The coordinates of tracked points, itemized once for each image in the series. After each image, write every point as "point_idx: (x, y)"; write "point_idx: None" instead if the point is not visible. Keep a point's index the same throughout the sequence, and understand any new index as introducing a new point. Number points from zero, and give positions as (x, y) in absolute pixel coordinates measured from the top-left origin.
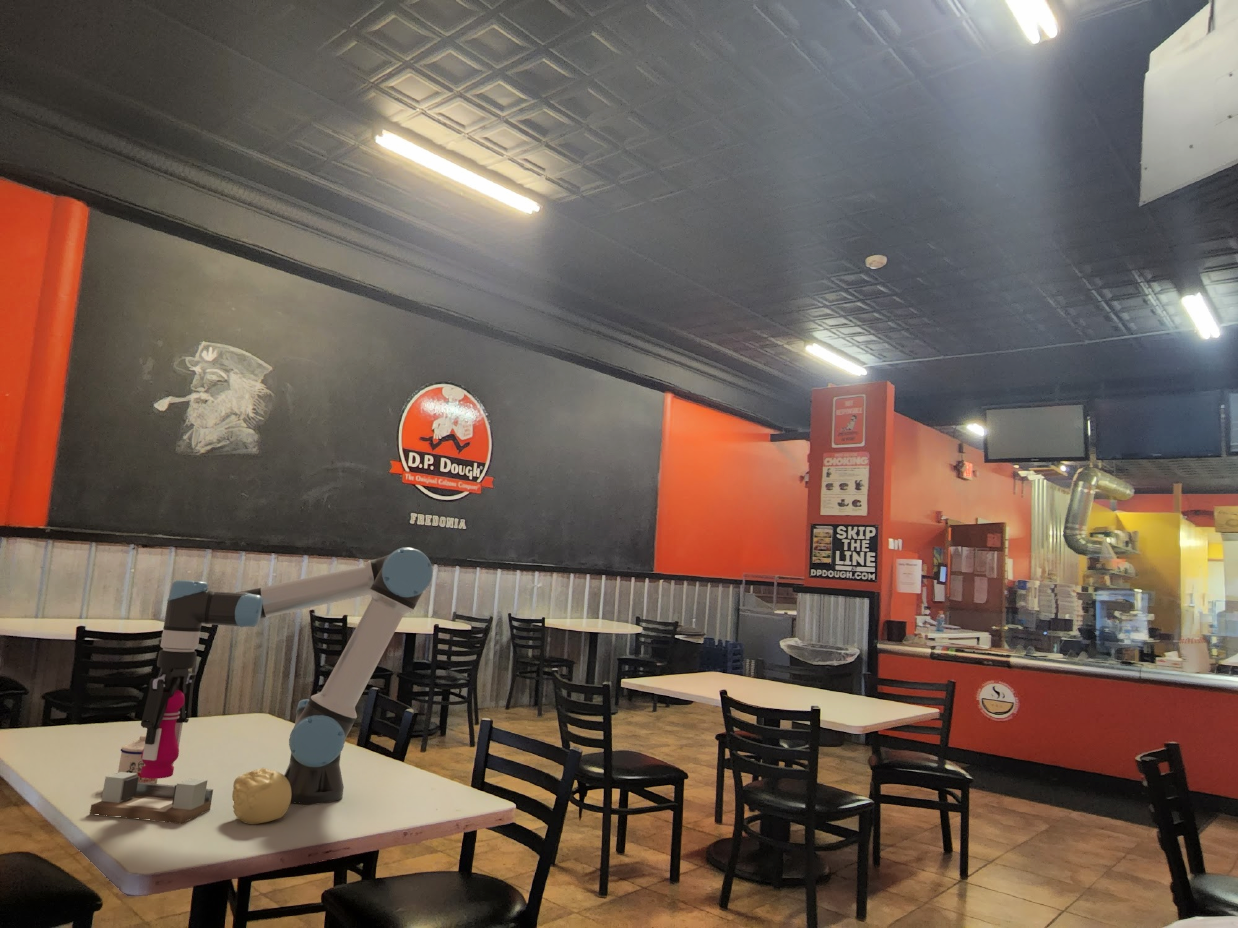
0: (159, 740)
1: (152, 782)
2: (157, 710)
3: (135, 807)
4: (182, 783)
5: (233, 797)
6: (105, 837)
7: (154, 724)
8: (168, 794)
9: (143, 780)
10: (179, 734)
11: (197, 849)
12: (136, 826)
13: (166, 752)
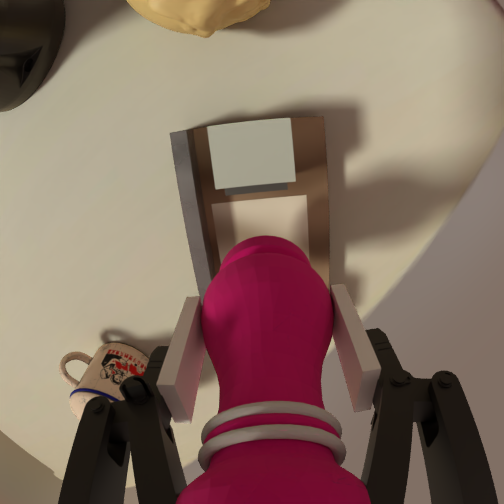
0: (348, 330)
1: (115, 347)
2: (459, 441)
3: (317, 248)
4: (286, 166)
5: (252, 10)
6: (442, 197)
7: (441, 378)
8: (208, 244)
9: (132, 359)
10: (181, 344)
11: (440, 11)
12: (370, 190)
13: (310, 280)
